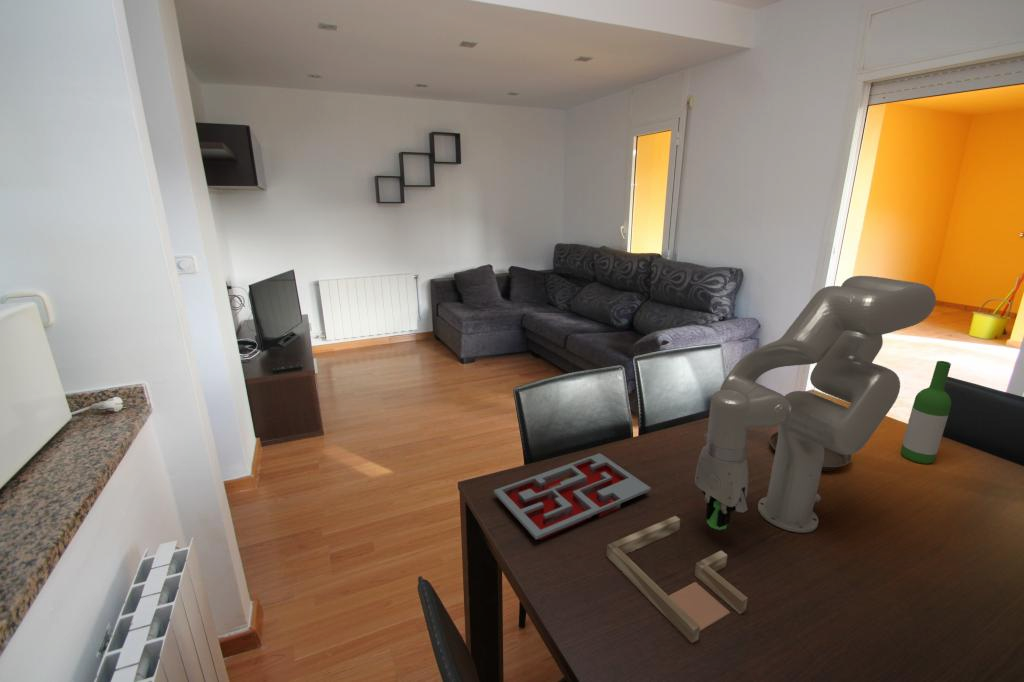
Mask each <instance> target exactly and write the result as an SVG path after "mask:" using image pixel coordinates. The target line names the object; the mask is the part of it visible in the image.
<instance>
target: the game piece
mask: <svg viewBox="0 0 1024 682" xmlns="http://www.w3.org/2000/svg"><path fill="white" fill-rule="evenodd" d="M721 505H722V503H721V502H720V501H718V500H717V501H714V505H713V507H715V510H714V511H713V513H712V515H711V517H710V519H707V518H706V523H707V525H709V527H710V528H712V529H715V530H720V531H721V530H726V529H727V526H728V524H727V525H723V526H721V527H718V526H717V519H718V512H719V511H720V510H721Z"/></svg>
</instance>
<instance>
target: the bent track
mask: <svg viewBox="0 0 1024 682" xmlns="http://www.w3.org/2000/svg"><path fill="white" fill-rule="evenodd" d="M680 526H681V518H679V517H678V516H676V515H674V516H672V517H669V518H666V519H664V520H662V521H659V522H658V523H655V524H653V525H651V526H648V527H645V528H643V529H641V530H638V531H636V532H634V533H632V534H629V535H627V536H625V537H622V538H620V539H618V540H615V541H613V542H610V543H608V544H607V545H606V557H607V559H609V560H610V561H611V563H613V564H614V566H615V567H616V568H617V569H618V570H619V571H620V572H621V571H622V572H621V573H622V574H623V575H624V576H625V577H626V578H628V580H629V581H630V582H631V583H632V584H633V585H634V586H635V587H636V588H637V589H638V590H639V591H640V592H641V593H642V594H643V595H644V596H645V597H646V598H647V599H648V600H649V601H650V602H651V603H652V604H653V605H654V606H655V607H656V608H657V610H658V611H659V612H661V614H662V615H663V616H664V617H665V618H666V619H667V620H668V621H669V622H670V623H671V624H672V625H673V626H674V628H676V629H677V630H678V631H679V632H680V633H681V634H682V635H683V636H684V637H685V638H686V639H687V640H688V641H689V642H690V643H691V644H693V643H695V642H697V641H699V636H700V633H701V631H703V630H705V629H706V628H708V627H710V626H711V625H713V624H714V623H716V622H718V621H719V620H721V619H723V618H725V617H726V616H728V615H729V614H731V612H730V610H728V609H727V608H726V607H725V605H722V603H721V602H719V601H718V600H717V599H716V598H715V597H714V596H713V595H712V594H710V593H709V592H708V591H707V590H705V589H704V588H703V586H701V585H699V583H698V582H696V581H695V582H692V583H690V584H688V585H686V586H685V587H682V588H681V589H679V590H677V591H675V592H673V593H671V594H670V595H668V594H667V593H666V592H665V591H664V590H663V589H662V588H661V587H660V586H659V585H658V584H657V583H656V582H655V581H654V580H653V579H651V577H650V576H648V575H647V574H646V573H645V572H644V571H643V570H642V569H641V568H640V567H639V566H638V565H637V564H636V563H635V562H634V561H633V560H632V559H631V558H630V557H629V556H628V554H630V553H632V552H634V551H636V549H637V550H638V549H641V548H643V547H646V546H647V545H650V544H652V543H654V542H657V541H658V540H661V539H663V538H667V537H668V536H671V535H672V534H674V533H676V532H679V531H680ZM629 552H630V553H629ZM627 553H628V554H627ZM727 559H728V554H727V552H726V553H725V551H723V550H719V551H717V552H715V553H713V554H711V555H709V556H707V557H705V558H702V559H701V560H700V561H697V562H696V563H695V567H694V568H695V569H694V576H695V577H696V578H697V579H698V580H699V581H700V582H701V583H703V584H704V585H705V586H707V587H708V589H710V590H711V591H713V593H715V594H716V595H717V596H718V597H719V598H720V599H722V600H723V601H724V602H725V603H727V604H728V605H729V606H730V607H731V608H732V609H733V610H734V611H736V612H737V613H738V614H739V615H741V614H743V613H745V612H746V609H747V605H748V600H749V599H748V597H747V596H746V595H745V594H743V592H741V591H740V590H738V589H737V588H736V587H735V586H733V584H731V583H730V582H729V581H727V580H726V579H725V578H724V577H722V575H720V574H719V573H717V572H719V571H720V570H722V569H724V568H726V566H727Z"/></svg>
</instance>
